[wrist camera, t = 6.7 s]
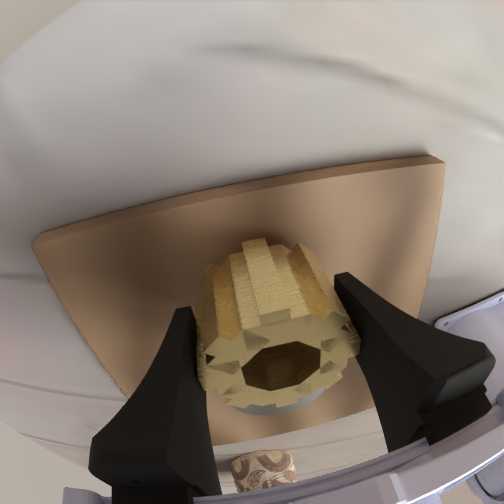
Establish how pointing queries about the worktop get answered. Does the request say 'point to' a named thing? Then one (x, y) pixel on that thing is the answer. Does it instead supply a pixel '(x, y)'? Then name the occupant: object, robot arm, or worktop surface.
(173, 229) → the carrier plate
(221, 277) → the brass gear
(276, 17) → the worktop surface
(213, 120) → the worktop surface
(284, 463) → the figurine
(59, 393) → the worktop surface
